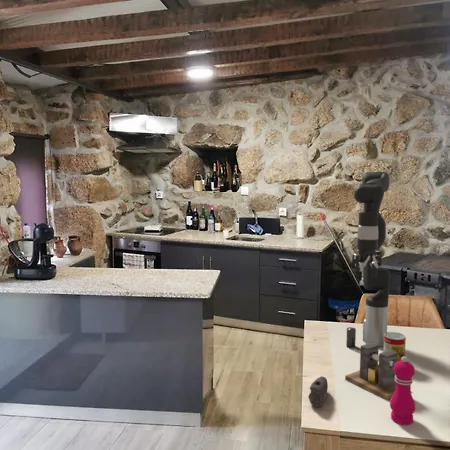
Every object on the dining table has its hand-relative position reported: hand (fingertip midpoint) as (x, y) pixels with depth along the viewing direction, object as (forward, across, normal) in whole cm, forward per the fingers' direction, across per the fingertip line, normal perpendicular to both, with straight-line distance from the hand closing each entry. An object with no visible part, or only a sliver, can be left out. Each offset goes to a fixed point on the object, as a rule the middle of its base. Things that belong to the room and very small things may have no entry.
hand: (366, 279), depth 174 cm
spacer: (+33, +10, +14) cm, 37 cm away
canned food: (+34, -9, +7) cm, 36 cm away
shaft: (+25, +10, +10) cm, 29 cm away
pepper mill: (+34, +22, +33) cm, 52 cm away
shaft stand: (+34, +10, +14) cm, 38 cm away
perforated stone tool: (+34, +34, +10) cm, 49 cm away
